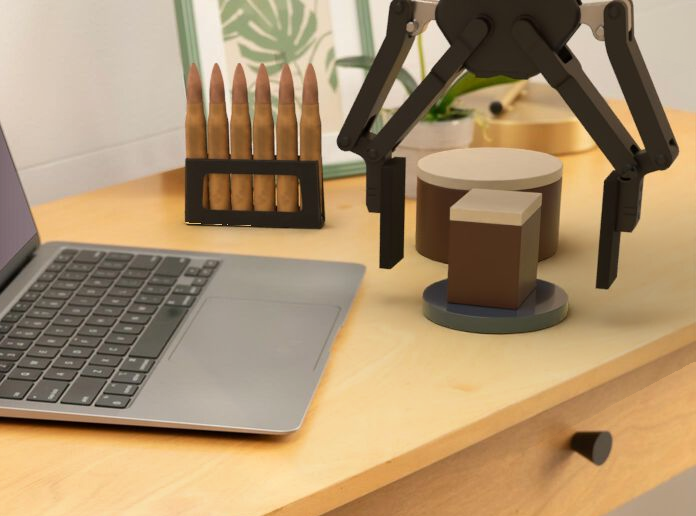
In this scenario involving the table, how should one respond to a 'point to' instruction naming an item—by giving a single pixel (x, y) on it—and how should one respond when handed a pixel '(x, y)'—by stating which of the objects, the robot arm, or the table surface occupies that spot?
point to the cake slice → (493, 248)
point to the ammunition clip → (241, 165)
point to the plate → (497, 310)
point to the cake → (483, 173)
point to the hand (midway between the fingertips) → (495, 273)
